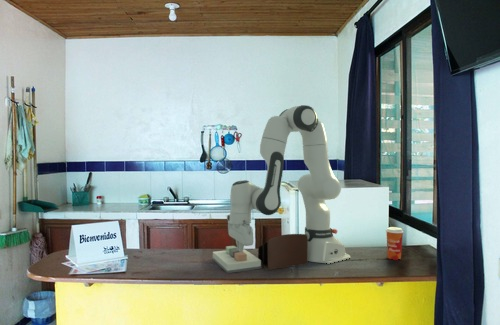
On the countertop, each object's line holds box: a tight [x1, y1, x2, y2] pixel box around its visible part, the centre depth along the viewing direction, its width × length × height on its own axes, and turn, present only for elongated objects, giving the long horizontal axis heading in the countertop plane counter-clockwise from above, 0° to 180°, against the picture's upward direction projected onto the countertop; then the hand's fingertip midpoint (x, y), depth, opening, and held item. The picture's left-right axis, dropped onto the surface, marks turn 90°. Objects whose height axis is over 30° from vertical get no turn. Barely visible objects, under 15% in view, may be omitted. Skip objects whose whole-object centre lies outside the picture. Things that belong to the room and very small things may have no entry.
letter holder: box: [257, 233, 309, 271], centre depth 157 cm, size 10×20×14 cm, turn 114°
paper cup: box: [385, 226, 405, 261], centre depth 165 cm, size 8×8×14 cm
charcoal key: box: [230, 249, 239, 258], centre depth 156 cm, size 4×4×3 cm
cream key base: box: [212, 248, 262, 274], centre depth 156 cm, size 15×20×4 cm
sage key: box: [225, 245, 237, 255], centre depth 161 cm, size 4×4×3 cm
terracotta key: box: [234, 252, 247, 262], centre depth 151 cm, size 4×4×3 cm
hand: (240, 251), depth 151 cm, fingers closed
